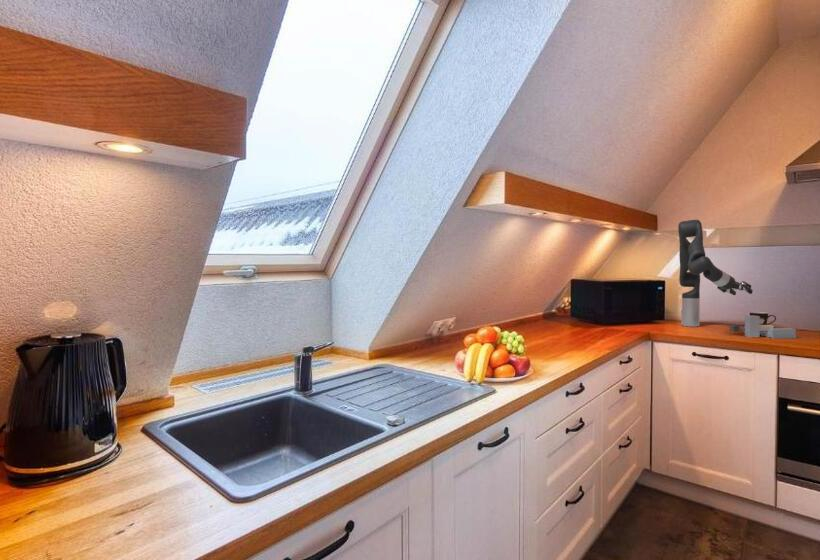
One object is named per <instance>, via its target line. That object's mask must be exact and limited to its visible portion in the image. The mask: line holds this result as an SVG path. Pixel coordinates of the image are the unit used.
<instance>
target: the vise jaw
mask: <svg viewBox="0 0 820 560" xmlns="http://www.w3.org/2000/svg"><path fill="white" fill-rule="evenodd" d="M774 326H775V325H772V324H769V325H760V331H768V329H775V328H774ZM743 330H745V326H740V325H735V324H732V325H729V332H735V333H737V332H740V331H743Z"/></svg>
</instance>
